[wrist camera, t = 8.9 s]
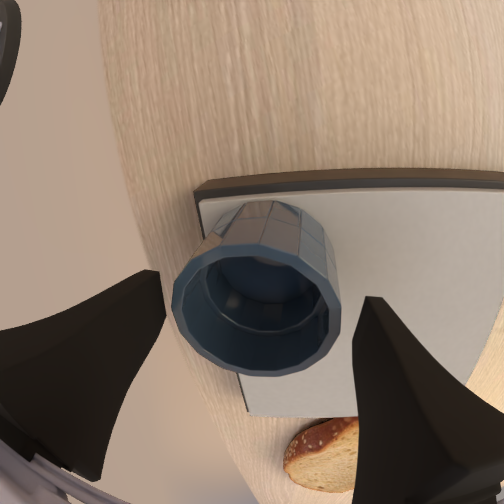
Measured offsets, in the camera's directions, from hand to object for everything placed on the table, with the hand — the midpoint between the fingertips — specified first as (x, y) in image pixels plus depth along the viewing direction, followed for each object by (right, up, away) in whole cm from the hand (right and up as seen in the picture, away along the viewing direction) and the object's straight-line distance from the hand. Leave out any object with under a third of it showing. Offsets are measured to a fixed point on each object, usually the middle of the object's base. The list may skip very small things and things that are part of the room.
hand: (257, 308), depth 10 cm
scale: (+7, -2, +7) cm, 10 cm away
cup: (+1, +2, +3) cm, 4 cm away
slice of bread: (+10, -21, +16) cm, 28 cm away
